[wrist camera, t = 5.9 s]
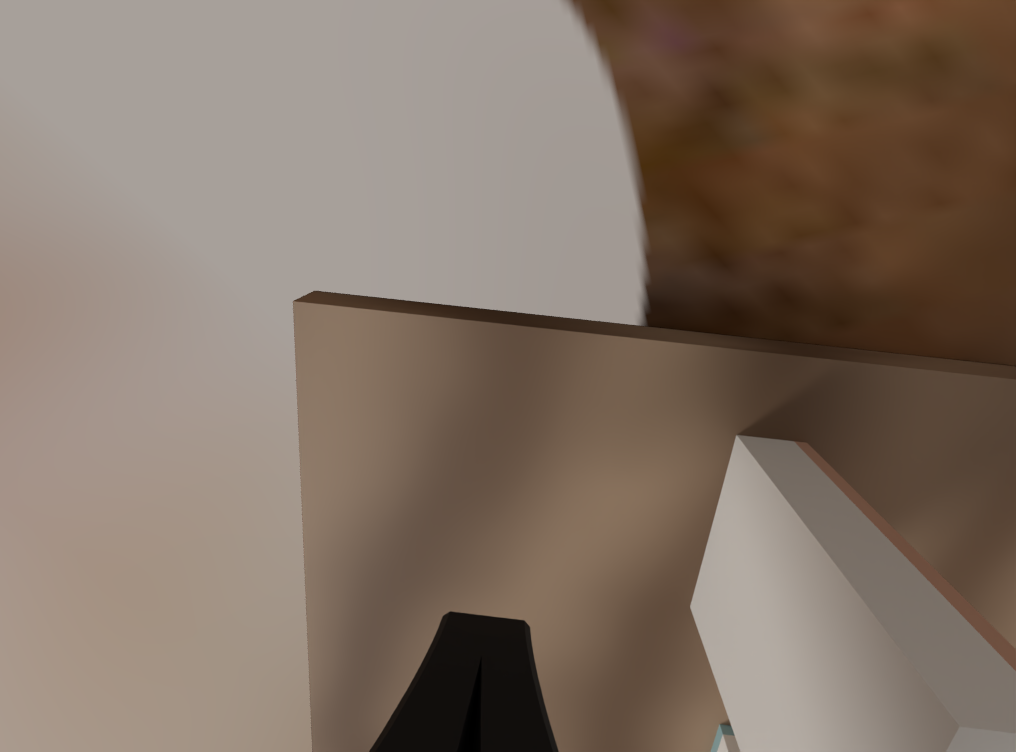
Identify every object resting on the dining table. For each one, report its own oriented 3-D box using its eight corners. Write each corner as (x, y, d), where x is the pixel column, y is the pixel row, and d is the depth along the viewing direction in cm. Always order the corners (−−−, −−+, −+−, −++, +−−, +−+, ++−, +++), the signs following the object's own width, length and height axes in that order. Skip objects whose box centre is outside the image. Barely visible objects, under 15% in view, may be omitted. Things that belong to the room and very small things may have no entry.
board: (1162, 382, 13) (1224, 402, 11) (896, 863, 19) (919, 907, 18) (314, 290, 13) (292, 300, 12) (328, 790, 19) (315, 828, 18)
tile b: (807, 442, 12) (1112, 745, 6) (751, 614, 14) (938, 998, 7) (736, 434, 12) (959, 727, 6) (690, 607, 14) (820, 982, 7)
